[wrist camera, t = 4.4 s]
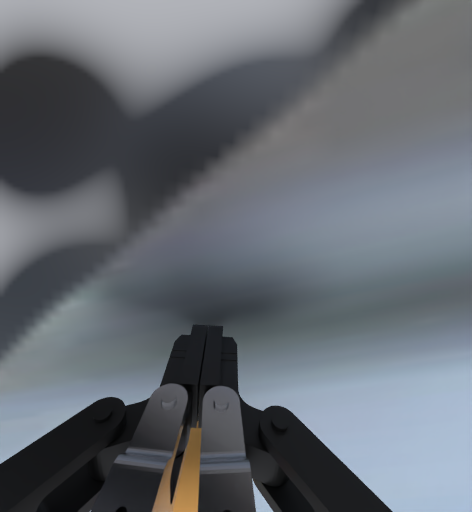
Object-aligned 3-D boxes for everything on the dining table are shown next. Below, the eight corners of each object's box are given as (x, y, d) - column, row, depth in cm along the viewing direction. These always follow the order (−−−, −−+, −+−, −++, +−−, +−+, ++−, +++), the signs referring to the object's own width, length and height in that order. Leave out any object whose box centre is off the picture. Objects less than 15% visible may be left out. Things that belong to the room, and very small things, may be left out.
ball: (161, 396, 16) (122, 522, 10) (253, 401, 16) (263, 527, 11) (163, 456, 18) (132, 587, 13) (244, 459, 18) (249, 590, 13)
